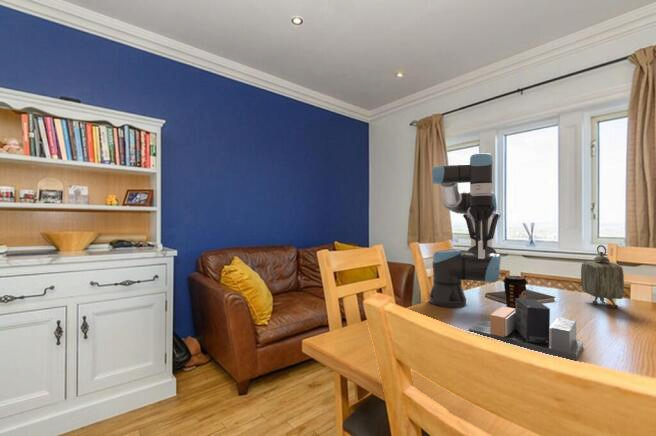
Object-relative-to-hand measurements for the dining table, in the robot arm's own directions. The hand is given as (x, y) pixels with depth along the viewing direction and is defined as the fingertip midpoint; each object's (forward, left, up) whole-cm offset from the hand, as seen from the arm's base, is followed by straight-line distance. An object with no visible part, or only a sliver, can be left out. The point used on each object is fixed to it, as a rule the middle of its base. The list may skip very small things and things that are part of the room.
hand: (481, 258), depth 118 cm
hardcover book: (+3, +38, -23) cm, 45 cm away
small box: (+19, -13, -21) cm, 31 cm away
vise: (+17, -13, -22) cm, 31 cm away
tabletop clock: (+30, +50, -23) cm, 63 cm away
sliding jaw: (+11, -13, -21) cm, 27 cm away
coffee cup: (+6, +20, -23) cm, 31 cm away
